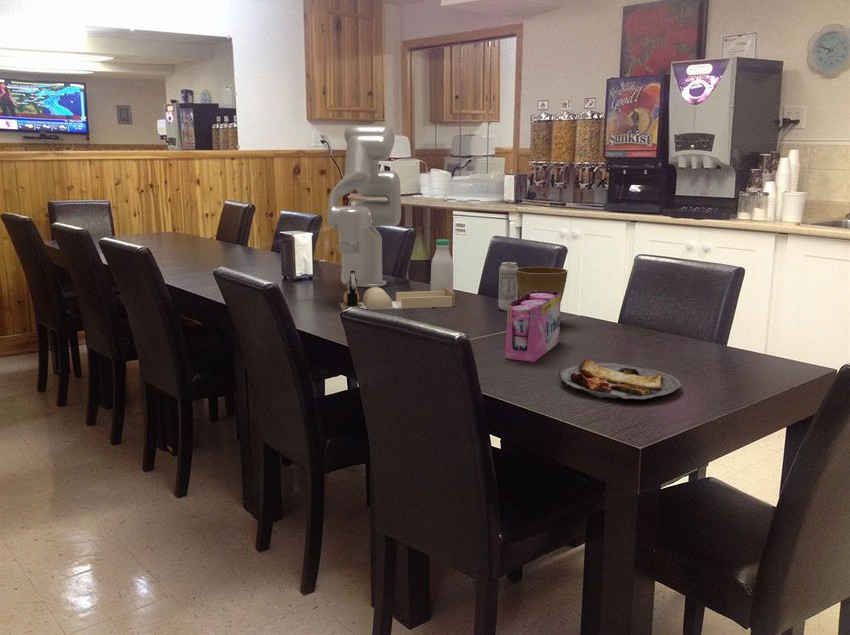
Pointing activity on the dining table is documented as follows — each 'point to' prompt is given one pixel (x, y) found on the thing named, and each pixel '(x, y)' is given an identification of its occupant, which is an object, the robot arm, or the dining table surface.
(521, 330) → the gum box
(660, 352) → the dining table surface
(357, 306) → the tee
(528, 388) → the dining table surface
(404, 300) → the lane
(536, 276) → the plant pot
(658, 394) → the food plate
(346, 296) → the ball
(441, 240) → the milk bottle
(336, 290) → the dining table surface
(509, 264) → the energy drink can
